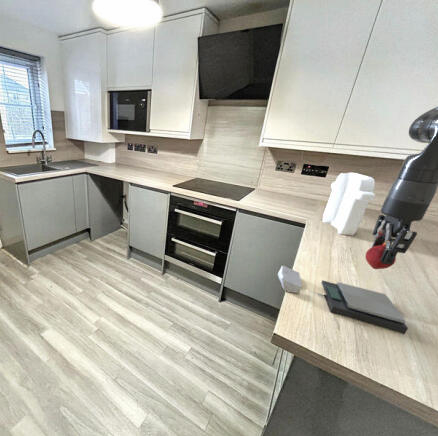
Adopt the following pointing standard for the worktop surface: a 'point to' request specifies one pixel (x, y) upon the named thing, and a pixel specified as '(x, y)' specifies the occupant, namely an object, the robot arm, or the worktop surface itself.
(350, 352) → the worktop surface
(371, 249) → the onion
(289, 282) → the light grey faceted block
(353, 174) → the white stepped block
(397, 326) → the scale
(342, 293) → the scale plate
